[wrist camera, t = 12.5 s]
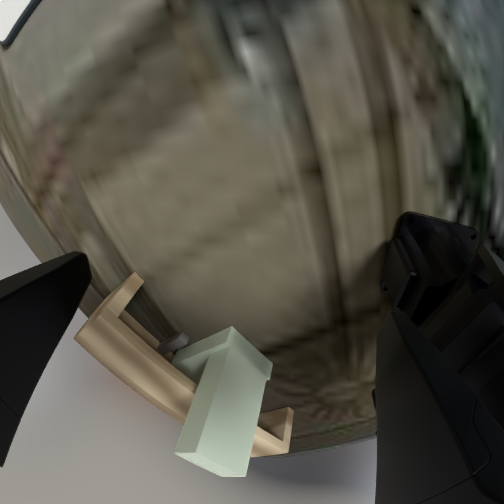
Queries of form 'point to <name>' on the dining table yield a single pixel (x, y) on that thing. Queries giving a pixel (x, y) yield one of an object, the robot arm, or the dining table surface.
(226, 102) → the dining table surface
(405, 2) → the dining table surface
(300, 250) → the dining table surface
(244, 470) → the sage green flanged block
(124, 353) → the beige u-shaped channel
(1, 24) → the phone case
